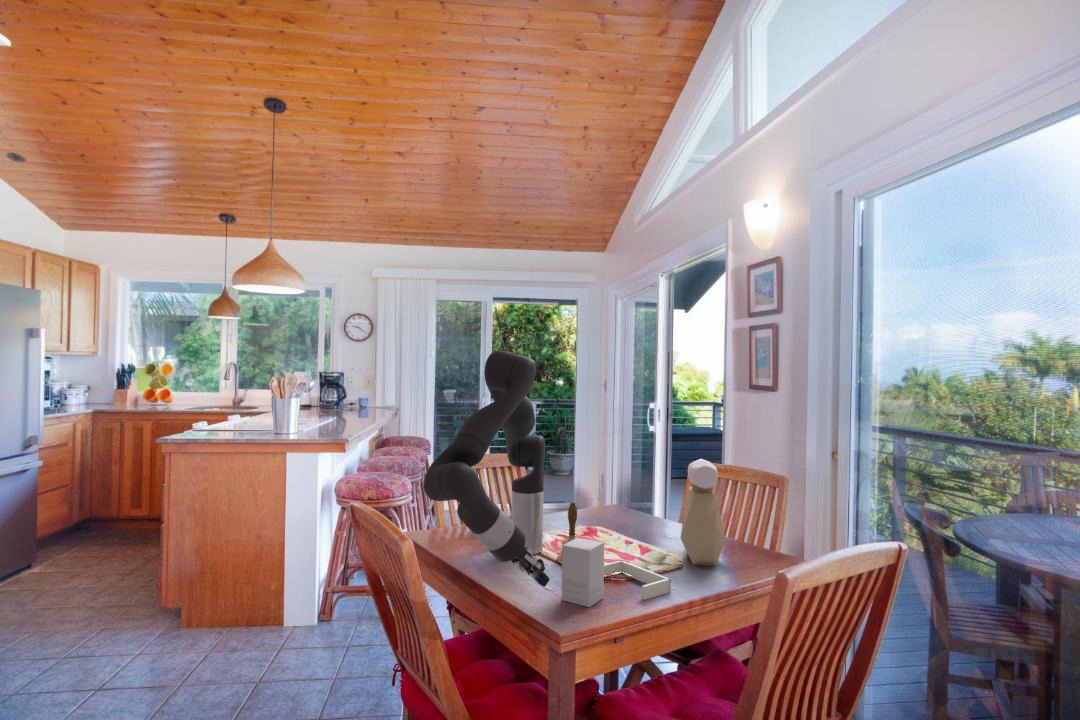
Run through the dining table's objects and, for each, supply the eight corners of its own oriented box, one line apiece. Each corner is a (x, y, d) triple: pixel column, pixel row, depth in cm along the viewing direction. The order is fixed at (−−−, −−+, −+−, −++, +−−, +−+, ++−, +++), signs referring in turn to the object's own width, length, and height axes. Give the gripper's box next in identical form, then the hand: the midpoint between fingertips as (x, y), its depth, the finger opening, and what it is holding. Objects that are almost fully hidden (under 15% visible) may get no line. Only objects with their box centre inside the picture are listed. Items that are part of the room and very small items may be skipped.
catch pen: (644, 600, 133) (644, 586, 133) (595, 578, 146) (595, 566, 146) (670, 591, 138) (670, 579, 138) (621, 571, 151) (621, 560, 152)
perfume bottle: (685, 572, 152) (687, 465, 152) (675, 545, 176) (676, 452, 176) (733, 575, 150) (734, 466, 151) (716, 548, 174) (717, 454, 175)
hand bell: (591, 559, 161) (592, 501, 161) (576, 567, 154) (577, 507, 154) (565, 554, 166) (567, 497, 166) (550, 561, 159) (551, 502, 159)
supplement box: (604, 597, 134) (605, 542, 134) (588, 608, 128) (589, 550, 128) (577, 590, 138) (577, 536, 138) (560, 600, 132) (561, 544, 132)
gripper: (528, 525, 116) (574, 576, 123) (492, 512, 126) (537, 559, 133) (505, 557, 112) (554, 607, 119) (471, 540, 123) (517, 587, 130)
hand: (545, 582), depth 126 cm, fingers closed
